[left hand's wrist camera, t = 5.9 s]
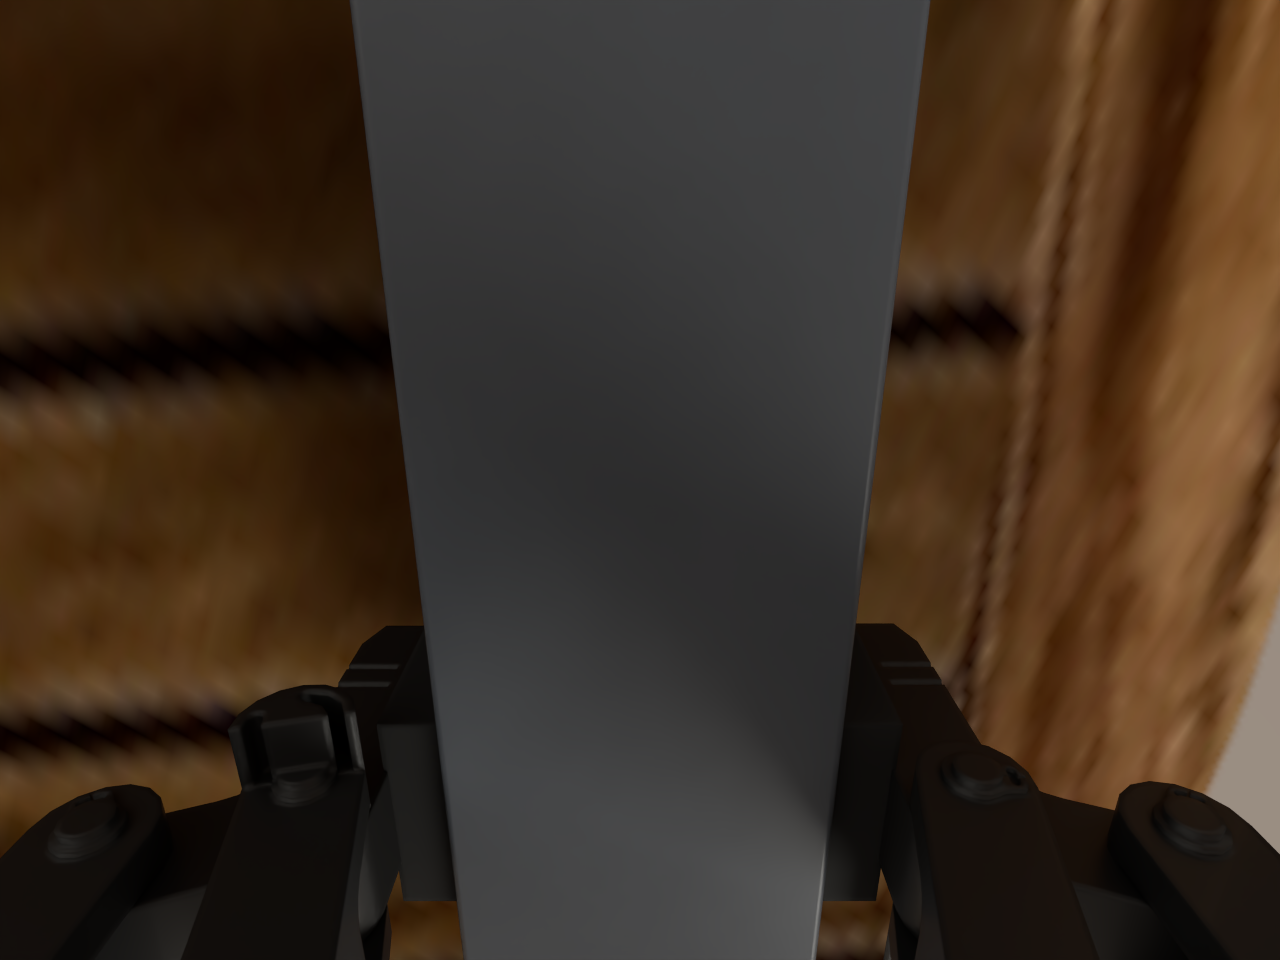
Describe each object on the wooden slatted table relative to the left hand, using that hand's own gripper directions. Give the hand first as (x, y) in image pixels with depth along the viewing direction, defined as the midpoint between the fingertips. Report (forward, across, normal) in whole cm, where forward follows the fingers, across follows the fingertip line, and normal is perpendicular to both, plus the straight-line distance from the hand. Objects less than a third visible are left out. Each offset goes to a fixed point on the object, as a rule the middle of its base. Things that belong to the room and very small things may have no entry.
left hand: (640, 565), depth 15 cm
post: (0, 0, -33) cm, 33 cm away
